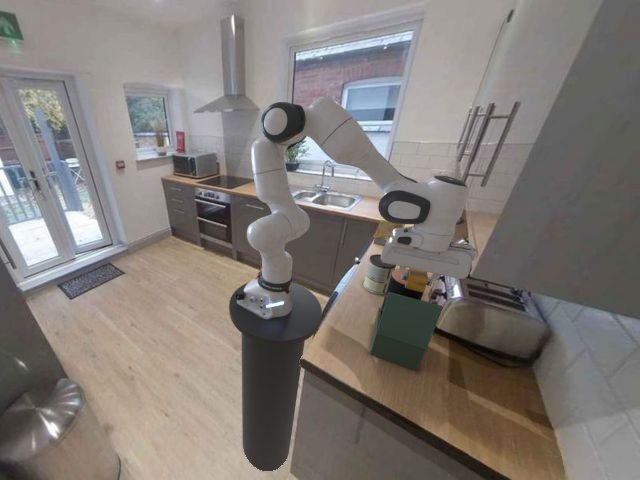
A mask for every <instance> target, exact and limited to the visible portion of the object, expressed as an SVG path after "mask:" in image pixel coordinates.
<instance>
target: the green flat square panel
mask: <svg viewBox="0 0 640 480" xmlns="http://www.w3.org/2000/svg"><path fill="white" fill-rule="evenodd" d="M443 307H444V306H443V305H441V304H436V303H433V302H429V301H426V300H422V299H421V300H418V299H414V298H410V297H406V296H402V295H398V294H395V293H391V292H388V296H387V299H386V303H385V306H384V309H383V313H382V316H381V320H380V323H379V327H378V330H377V334H380V335H383V336H386V337H389V338H392V339H395V340H398V341H401V342H404V343H407V344H410V345H413V346H416V347H419V348H422V349H425V351H426V350H428V347H429V344H430V342H431V339H432V336H433V335H434V332H435V329H436V327H437V324H438V321H439V319H440V316H441V314H442V313H441V311H442V309H443Z"/></svg>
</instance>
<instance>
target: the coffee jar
mask: <svg viewBox="0 0 640 480" xmlns="http://www.w3.org/2000/svg"><path fill="white" fill-rule="evenodd" d="M404 271H405V272H406V273H407V271H408V268H406V269H405V270H404ZM388 292H391V293H395V294H398V295H402V296H406V297H410V298H414V299H418V300H421V301H422V298H423V296H424V294H425V291H424V292H419V291H415V290H411V289H407V288H405V280H402V279H401V271H400V268H395V270H394V271H393V272H392V277H391V278H390V281H389V285H388V288H387V291H386V294H384V298H383V301H382V305H381V308H382V309H384V306H385V303H386V299H387V296H388Z"/></svg>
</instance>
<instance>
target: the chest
mask: <svg viewBox="0 0 640 480" xmlns="http://www.w3.org/2000/svg"><path fill="white" fill-rule="evenodd" d="M382 313H383V309H382V307H378V309H377V313H376V316H375V319H374V322H373V325H372V334H371V342H370V343H371V344H370V352H369V354H370V355H371V356H375V357H378V358H380V359H383V360H385V361H388V362H391V363H394V364H396V365H400V366H402V367H405V368H406V369H411V370H412V371H416V372H417V371H418V369H419V366H420V364H421V362H422V359H423V357H424V355H425V353H426V350H425V349H422V348H419V347H416V346H413V345H410V344H407V343H404V342H401V341H398V340H395V339H392V338H389V337H386V336H383V335H380V334H377V330H378V327H379V323H380V320H381V316H382Z"/></svg>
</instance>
